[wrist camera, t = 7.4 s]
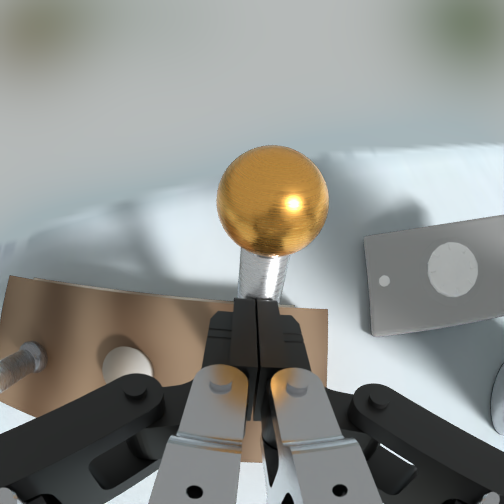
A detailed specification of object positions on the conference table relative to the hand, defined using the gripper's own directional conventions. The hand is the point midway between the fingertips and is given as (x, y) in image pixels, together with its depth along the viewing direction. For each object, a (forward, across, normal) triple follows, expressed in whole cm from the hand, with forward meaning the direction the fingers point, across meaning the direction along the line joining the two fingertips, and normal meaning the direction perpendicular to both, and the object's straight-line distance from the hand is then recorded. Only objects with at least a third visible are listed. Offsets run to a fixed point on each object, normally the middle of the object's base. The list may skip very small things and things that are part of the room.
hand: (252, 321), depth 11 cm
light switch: (+12, -16, +4) cm, 21 cm away
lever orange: (+4, 0, +7) cm, 8 cm away
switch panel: (+7, +7, +10) cm, 14 cm away
